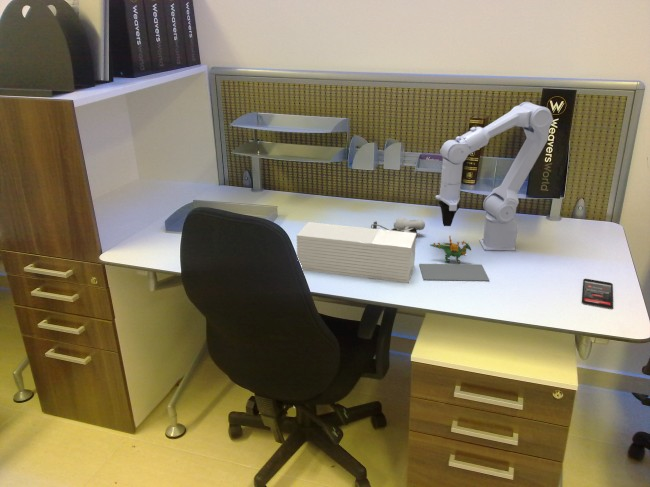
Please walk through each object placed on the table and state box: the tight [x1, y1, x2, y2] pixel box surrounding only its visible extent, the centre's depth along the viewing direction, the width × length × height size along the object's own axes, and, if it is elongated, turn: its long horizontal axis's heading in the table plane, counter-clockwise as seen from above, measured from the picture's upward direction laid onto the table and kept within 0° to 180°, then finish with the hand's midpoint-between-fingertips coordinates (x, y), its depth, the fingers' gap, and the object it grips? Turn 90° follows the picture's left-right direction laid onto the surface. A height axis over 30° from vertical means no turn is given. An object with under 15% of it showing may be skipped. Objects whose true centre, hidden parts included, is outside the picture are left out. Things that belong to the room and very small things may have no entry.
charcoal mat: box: [419, 263, 491, 282], centre depth 162 cm, size 18×10×1 cm, turn 88°
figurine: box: [429, 235, 472, 264], centre depth 167 cm, size 3×12×8 cm, turn 76°
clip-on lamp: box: [370, 217, 426, 239], centre depth 186 cm, size 12×6×18 cm
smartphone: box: [581, 278, 614, 310], centre depth 150 cm, size 7×1×15 cm
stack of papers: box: [296, 221, 417, 284], centre depth 163 cm, size 32×11×11 cm, turn 74°
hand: (446, 225), depth 173 cm, fingers closed
